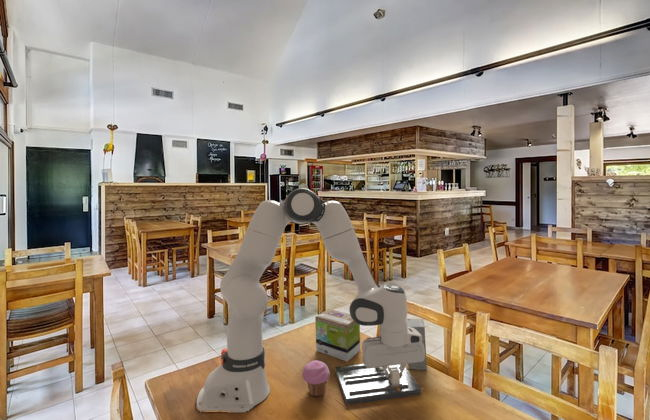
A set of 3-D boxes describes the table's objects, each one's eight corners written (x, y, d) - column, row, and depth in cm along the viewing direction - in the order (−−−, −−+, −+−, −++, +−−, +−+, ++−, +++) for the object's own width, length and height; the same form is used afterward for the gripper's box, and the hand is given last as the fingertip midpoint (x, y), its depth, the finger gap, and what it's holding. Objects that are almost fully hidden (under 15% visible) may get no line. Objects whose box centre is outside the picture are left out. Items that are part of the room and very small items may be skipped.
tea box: (315, 352, 135) (314, 316, 134) (329, 341, 144) (328, 307, 142) (347, 362, 127) (347, 324, 126) (360, 351, 135) (360, 315, 134)
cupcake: (332, 398, 106) (332, 368, 105) (305, 403, 105) (304, 372, 104) (327, 382, 115) (326, 353, 114) (301, 386, 113) (300, 357, 112)
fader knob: (392, 385, 108) (392, 371, 108) (388, 378, 112) (387, 364, 112) (399, 384, 109) (399, 370, 108) (395, 377, 113) (395, 363, 112)
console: (346, 404, 103) (346, 383, 103) (335, 372, 121) (334, 353, 120) (421, 394, 107) (421, 374, 106) (399, 364, 125) (399, 346, 124)
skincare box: (427, 371, 120) (427, 327, 118) (406, 369, 121) (406, 326, 120) (425, 358, 128) (425, 318, 127) (405, 357, 130) (405, 317, 128)
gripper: (364, 343, 104) (365, 386, 106) (427, 336, 108) (427, 378, 109) (359, 334, 111) (360, 374, 112) (418, 327, 114) (418, 367, 115)
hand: (393, 376), depth 110 cm, fingers closed on fader knob, 2 cm apart
